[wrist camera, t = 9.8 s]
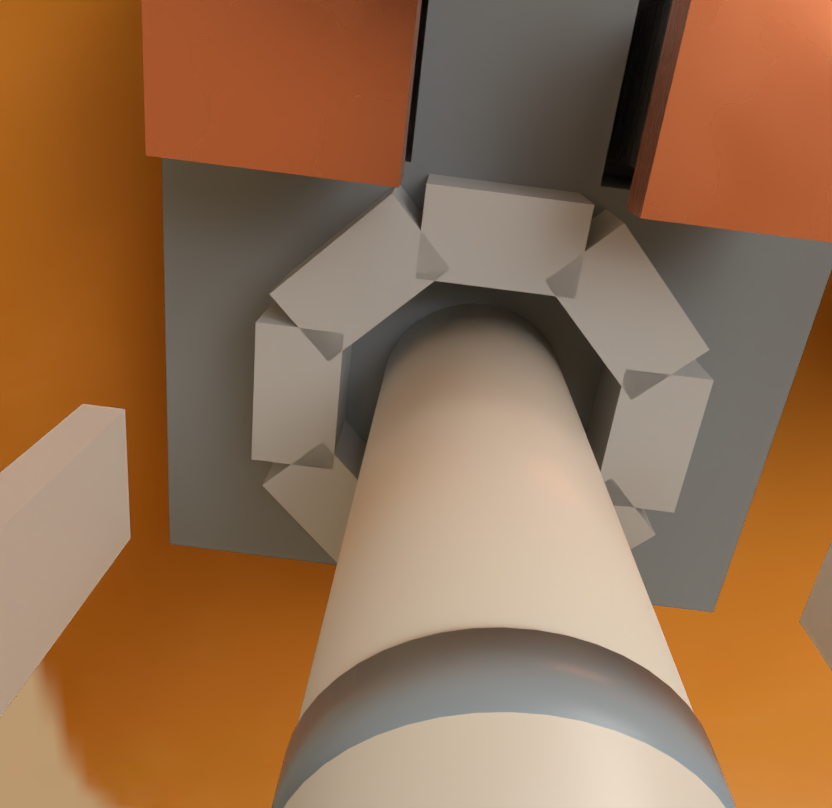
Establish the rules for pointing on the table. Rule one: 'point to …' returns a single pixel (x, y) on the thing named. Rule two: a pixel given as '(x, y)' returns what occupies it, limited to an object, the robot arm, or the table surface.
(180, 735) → the table surface
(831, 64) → the plunger
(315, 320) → the housing
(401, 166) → the plunger
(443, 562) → the cartridge
